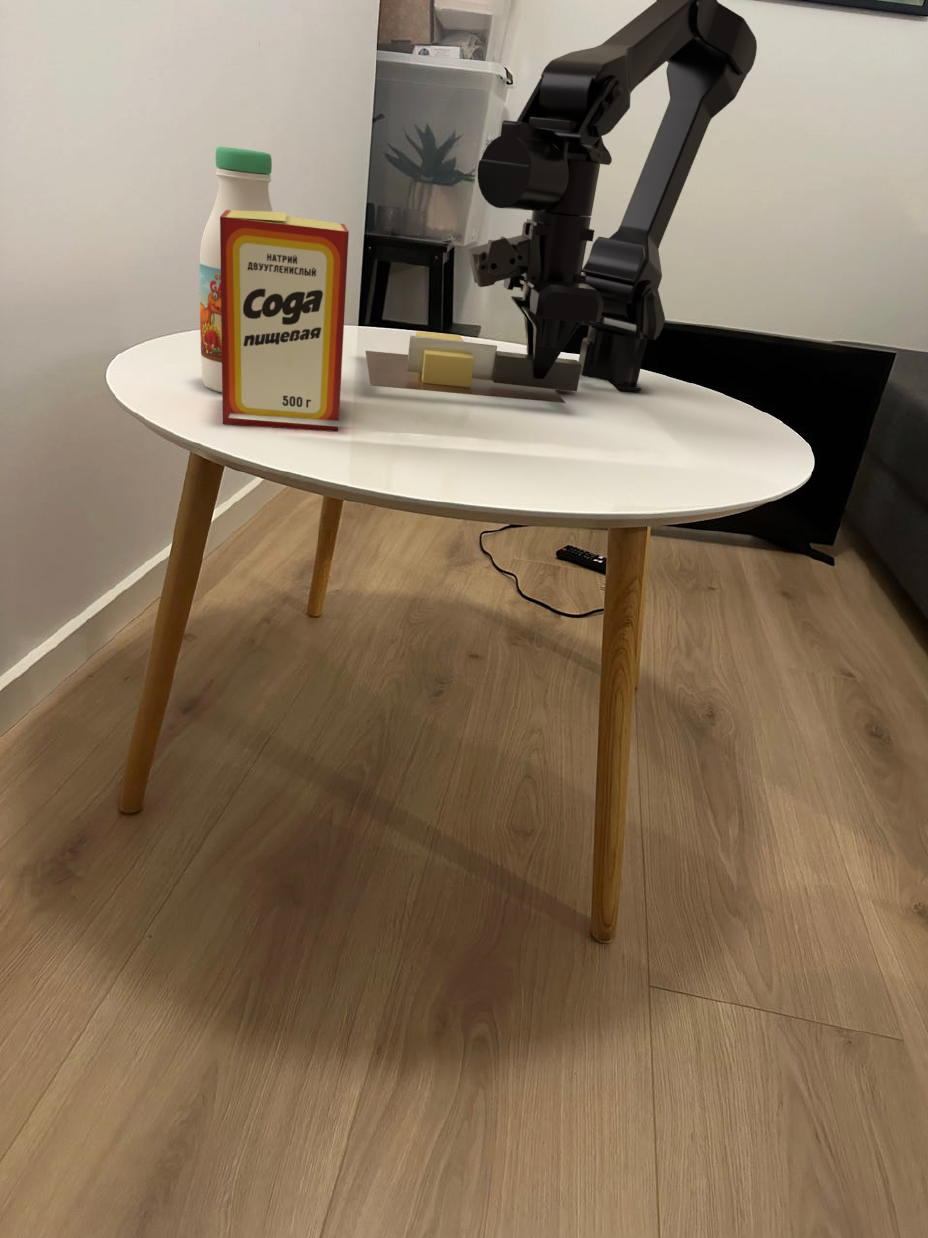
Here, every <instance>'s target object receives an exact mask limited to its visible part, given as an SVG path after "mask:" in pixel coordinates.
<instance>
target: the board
mask: <svg viewBox="0 0 928 1238" xmlns="http://www.w3.org/2000/svg"><path fill="white" fill-rule="evenodd" d="M365 358H366V364H367V372H368V377H369V379H368V380H369V384H370V386H372V387H381V388H382V387H383V388H393V389H394V388H395V389H403V390H417V391H426V392H438V393H447V394H448V393H449V394H458V395H459V394H460V395H471V396H472V395H473V396H481V397H494V398H506V399H517V400H529V401H539V402H548V403H549V402H550V403H561V404H566V403H567V402H566V401H565V400H564V399H563V398H562V397H561V395H560V394H559V393H558V392H557V390H556V389H548V388H539V387H529V386H520V385H511V384H502V383H494V382H493V380H484V379H475V378H472V381H471V387H470V388H469V387H458V386H448V385H437V384H427V383H423V382H422V373H420V372H411V371H407V363H408V354H406V353H405V354H404V353H394V352H384V351H383V352H382V351H374V350H365Z"/></svg>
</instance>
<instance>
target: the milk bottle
mask: <svg viewBox="0 0 928 1238" xmlns="http://www.w3.org/2000/svg"><path fill="white" fill-rule="evenodd" d="M272 161H273V159H272V155H271V154H270V153H268V152H264V151H259V150H252V149H244V148H238V147H237V148H236V147H229V146H218V147H216V149H215V166H216V172H215V175H216V176H217V177H218V189H217V193H216V199H215V202H214V205H213V208H212V211H211V213H210V215H209V218H208V220H207V222H206V225H205V228H204V229H203V234H202V237H201V241H200V247H199V248H200V250H199V275H198V277H199V278H198V279H199V280H198V281H199V327H200V328H199V329H200V330H199V332H200V334H199V335H200V336H199V337H200V364H201V365H200V371H201V380H202V382H203V384H204V386H206V387H207V388H209V389H210V390H213V391H216V392H219V393H222V330H221V253H220V216H221V215H222V214H223V213H224V212H225V210H236V211H262V212H274V211H273V208H272V207H273V206H272V204H271V203H272V202H271V198H270V192H269V184H270V183H271V182H272V178H271V175H272V167H273V165H272V164H273V163H272Z"/></svg>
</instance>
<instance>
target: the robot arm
mask: <svg viewBox="0 0 928 1238" xmlns="http://www.w3.org/2000/svg"><path fill="white" fill-rule="evenodd" d="M757 49H758V41H757V38H756V36H755V34H754V32H753V31H752V29H751V28H750V25H749V23H747V21H746V19H745V18H743V16H741V15H739V14H738V13H736V12H735V11H733V10H731V9H730V8H728V7H727V6H725V5H723V4H721V3H720V2H719V1H718V0H655V2H653V3H652V4H651V5H650V6H648V7H647V8H646V9H644V10H643V11H642V12H641V13H639V14H638V15H637V16H636V17H634V18H633V19H632V20H630V21H629V22H628V23H627V24H625V25H624V26H623V27H622V28H620V29H619V30H618V31H617V32H615V33H613V35H611V36H610V37H609V38H607V40H605V41H604V42H603V43H601V44H599V45H597V46H594V47H589V48H584V49H580V50H576V51H575V50H574V51H571V52H569V53H566V54H563V55H561V56H559V57H556V58H554V59H552V60H551V61H550V60H549V63H548V64H546V65H545V67H544V69H543V71H542V72H541V73H540V79H539V81H538V82H537V84H536V86H535V88H534V89H533V91H532V92H531V95H530V96H529V98H528V100H527V102H526V104H525V105H524V107H523V109H522V111H521V112H520V114H519V116H518V118H517V119H516V120H515V121H514V120H506V119H504V120H503V121H501V129H500V135H499V136H497V137H495V138H493V140H491V142H489V144H488V145H487V146H486V148H485V150H484V151H483V152H482V156H481V159H480V160H479V161H478V165H477V182H478V187H479V190H480V193H481V195H482V197H483V198H484V200H485V201H486V202H487V203H488V204H489V205H491V206H492V207H494V208H496V209H503V210H504V209H505V210H518V211H519V210H520V211H532V212H531V218H526V221H524V222H523V224H522V229H521V230H522V231H521V235H516V236H512V237H508V238H506V237H505V236H504V235H503V236H500V238H498V239H488V241H487V243H485V244H480V245H477V246H473V247H470V248H468V249H467V253H468V257H469V261H470V267H471V272H472V277H473V282H474V283H475V284H477V286H478V287H479V288H485V287H489V286H493V285H495V284H496V283H497V282H500V281H503V287H504V289H506V290H509V291H513V290H514V288H517V289H518V288H519V294H518V296H516V295H515V296H514V295H511V296H510V300H512V302H513V303H514V304H515V306H516V307H517V308H518V310H519V312H521V314H522V315H523V318H524V319H523V320H524V330H525V331H524V332H525V343H526V354H528V355H533V375H534V377H535V378H536V379H544V378H545V377H546V375H547V373H548V372H549V370H550V369H551V367H552V366H553V364H554V363H555V361H556V359H557V358H559V356H560V355H561V353H562V352H563V350H564V349H565V347H566V345H567V344H568V343H569V341H570V340H571V339H572V337H573V335H575V333H576V331H577V330H578V328H579V327H580V326H581V325H582V326H588V331H587V336H586V337H584V338H583V339H582V340H581V345H580V350H579V357H578V362H579V363H580V364H581V365H582V368H581V373H580V376H582V377H587V378H594V379H597V380H602V381H606V382H608V383H609V384H610V385H612V386H613V387H614V388H615V390H619V391H631V392H642V386H641V385H640V384H638V382H639V378H640V372H641V369H642V364H643V359H644V354H645V350H646V345H647V341H648V340H657V338H659V337H660V334H661V332H662V330H663V327H664V325H665V321H666V317H665V312H664V307H663V304H662V299H661V296H660V292H659V289H660V285H661V281H662V278H663V273H662V272H663V271H662V264H661V257H660V251H659V248H660V246H661V243H662V241H663V239H664V236H665V234H666V231H667V228H668V226H669V224H670V221H671V219H672V216H673V214H674V211H675V209H676V206H677V203H678V201H679V198H680V196H681V194H682V191H683V189H684V187H685V184H686V181H687V179H688V177H689V175H690V172H691V169H692V167H693V164H694V161H695V160H696V156H697V154H698V152H699V149H700V147H701V145H702V142H703V140H704V137H705V135H706V132H707V130H708V127H709V125H710V123H711V121H712V119H713V118H714V117H716V116H717V115H718V114H719V113H720V112H721V111H722V110H724V109H725V108H726V107H727V106H728V105H729V104H730V103H732V102H733V101H734V100H735V99H736V97H737V95H738V94H739V92H740V89H741V88H742V86H743V84H744V82H745V79H746V78H747V75H748V74H749V73H750V71H752V69H753V66H754V65H755V60H756V56H757ZM666 62H667V67H666V69H665V70H666V71H665V72H666V80H667V86H668V93H669V101H668V105H667V106H666V110H665V111H664V114H663V117H662V120H661V122H660V124H659V127H658V129H657V131H656V133H655V137H654V139H653V141H652V145H651V146H650V150H649V152H648V154H647V156H646V159H645V161H644V165H643V167H642V169H641V171H640V174H639V177H638V179H637V182H636V183H635V187H634V189H633V192H632V195H631V198H630V199H629V201H628V205H627V207H626V210H625V212H624V214H623V217H622V220H621V221H620V225H619V226H618V229H617V230H616V231H615V232H614V233H613V234H611V236H609V237H605V236H598V237H597V238H596V239H595V241H594V236H595V229H592V228H590V226H591V220H592V215H593V208H594V204H595V199H596V191H597V186H598V180H599V176H600V175H599V174H600V168H601V165H605V166H610V165H611V164H612V163H613V162H612V161H613V158H612V156H611V155H612V154H611V153H610V151H609V150H608V148H607V147H606V146H605V143H604V141H603V136H606V135H608V134H609V133H611V132H612V131H613V129H614V128H615V127H616V126H617V125H618V123H620V121H621V120H622V118H623V117H624V116H625V114H627V112H629V110H630V108H631V97H632V96H631V94H632V93H633V91H634V90H635V89H636V88H637V87H638V86H639V85H640V84H641V83H642V82H644V81H645V80H646V79H647V78H648V77H649V76H651V75H652V74H653V73H655V72H656V71H657V70H658V69H660V67H661V66H662V65H664V64H665V63H666ZM593 241H594V242H593ZM588 242H593V243H592V245H591V250H590V253H589V256H588V259H587V260H586V263H585V264H584V260H585V255H586V249H587V243H588Z"/></svg>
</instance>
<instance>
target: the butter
mask: <svg viewBox="0 0 928 1238" xmlns="http://www.w3.org/2000/svg"><path fill="white" fill-rule="evenodd" d="M415 336H419V337H427V338H436V339H445V340H453V341H462V342H465V341H464V339H463V338H462V336H461V335H459V334H452V333H443V332H442V333H441V332H433V331H432V332H431V331H422V330H416V332H415Z"/></svg>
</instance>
